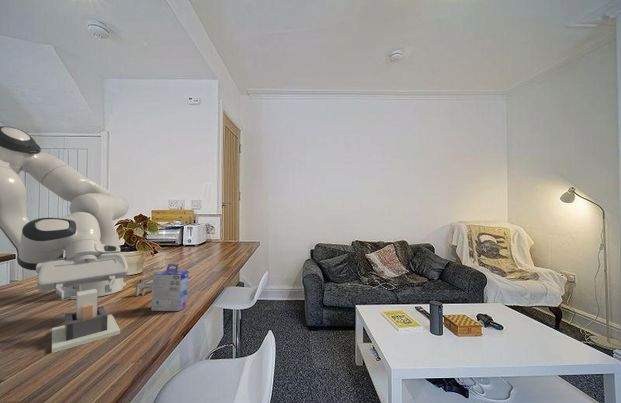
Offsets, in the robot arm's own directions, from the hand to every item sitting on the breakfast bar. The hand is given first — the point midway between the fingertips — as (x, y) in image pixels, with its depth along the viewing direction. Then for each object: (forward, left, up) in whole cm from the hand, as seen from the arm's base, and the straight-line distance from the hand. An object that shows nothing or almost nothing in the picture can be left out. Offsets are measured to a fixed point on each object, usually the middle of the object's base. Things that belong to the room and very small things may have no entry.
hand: (87, 295), depth 73 cm
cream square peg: (+4, -2, -8) cm, 9 cm away
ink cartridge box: (+10, +19, -9) cm, 23 cm away
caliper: (-9, +31, -9) cm, 34 cm away
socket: (+4, -2, -9) cm, 10 cm away
